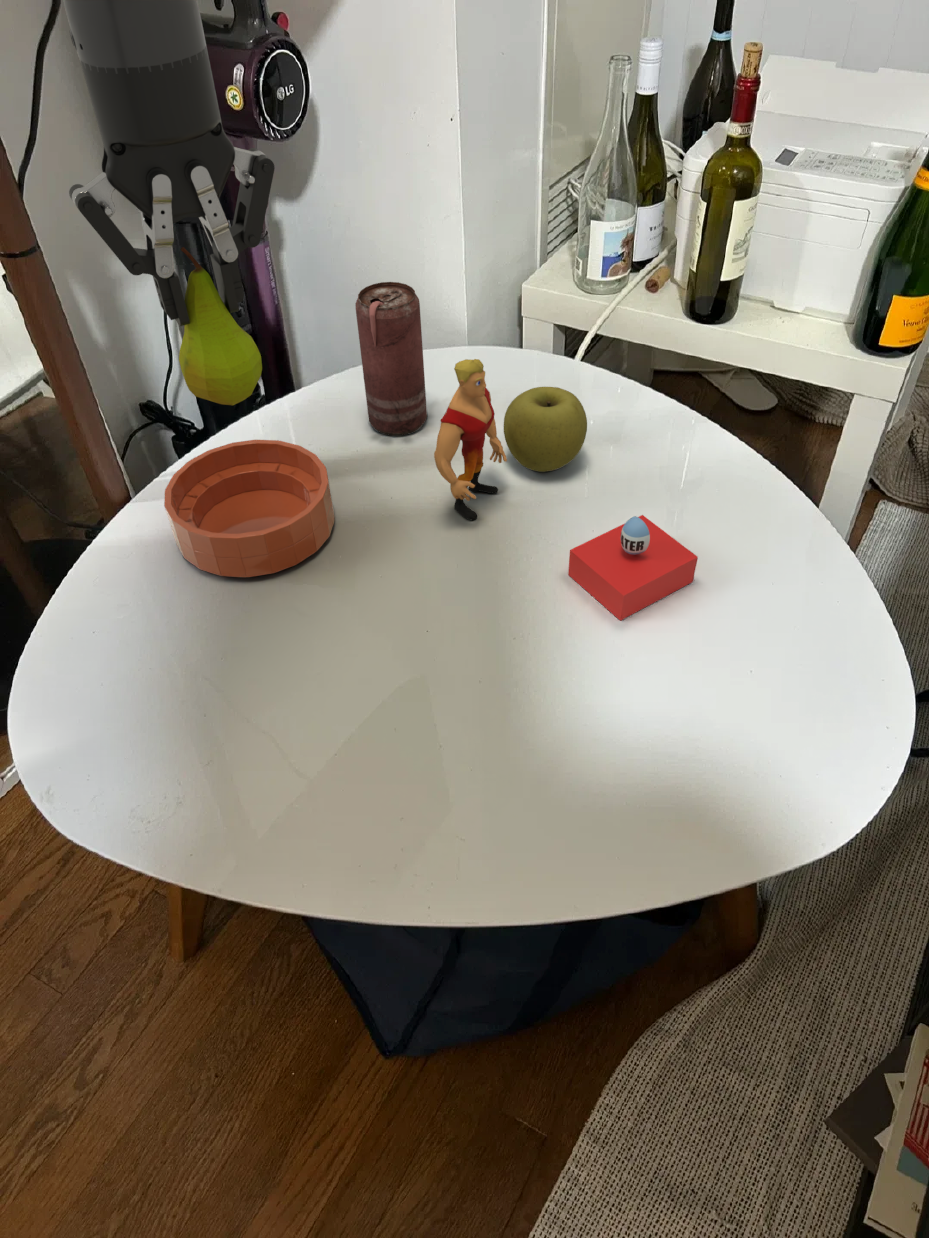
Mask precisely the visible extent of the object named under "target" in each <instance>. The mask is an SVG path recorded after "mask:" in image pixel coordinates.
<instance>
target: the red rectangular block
mask: <svg viewBox="0 0 929 1238" xmlns="http://www.w3.org/2000/svg"><path fill="white" fill-rule="evenodd" d="M698 558H699V556H698V555H696V554H694V552H692V551H691V550H690V549H688V548H687V547H686V546H684V544H682V543H681V542H679V541H678V540H677V539H675V538H674V537H672V536H671V535H670V534H669V533H667V532H666V531H664V530H663V529H662V528H661V527H660V526H658V525H657V524H655V523H654V522H653V521H652V520H650V519H649V518H647V516H645V515H644V514H641V515H639V516H637V515H636V516H635V515H634V516H632V517H630V518H629V519H628V520H627V521H626V522H624V523H622V524H621V525H618V526H616V527H614V528H613V529H610V530H608V531H606V532H604V533H602V534H599V535H598V536H596V537H594V538H591V539H590V540H588V541H585V542H583V543H581V544H579V545H577V546H575V547H573V548H571V549H570V550H569V558H568V571H567V575H568V577H570V578H571V579H572V580H574V582H575V583H577V584H578V585H579V586H580V587H581V588H583V589H584V590H585V592H587V593H588V594H589V595H590V596H591V597H593V598H594V599H595V600H596V601H597V602H598V603H600V605H602V606H603V607H604V608H605V609H606V610H607V611H609V612H610V613H611V614H612V615H613V616H614V617H615V618H616V619H618V620H619V621H622V620H625V619H626V618H628V617H630V616H632V615H634V614H635V613H637V612H639V611H641V610H643V609H646V608H647V607H649V606H651V605H652V604H654V603H656V602H658V601H660V600H662V599H664V598H665V597H667V596H670V595H671V594H673V593H675V592H677V591H678V590H680V589H682V588H685V587H686V586H688V585H689V584H692V583H693V582H694V578H695V573H696V570H697V569H696V568H697V563H698Z"/></svg>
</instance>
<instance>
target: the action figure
mask: <svg viewBox="0 0 929 1238" xmlns="http://www.w3.org/2000/svg"><path fill="white" fill-rule="evenodd" d="M453 369H454V370H453V371H454V372H455V375H456V379H457V382H458V385H459V386H458V387H457V389H456V390H455V392H454V394H453V396H452V398H451V400H450V402H449V403H448V406H447V408H446V412H445V413H444V414H443V416H442V417H441V419H440V420H439V421H440V424H439V429H438V430H439V431H438V434H437V439H436V447H435V450H434V453H433V458H434V463H435V467H436V469H437V470H438V472H439V475H441V476H442V478H443V479H444V480H445V481H446V482H448V483H449V484H450V485H449V486H450V493H451V495H452V497H453V498H454V499H455V502H454V505H453V508H454V510H455V511H456V512H458V514H459V515H461V516H462V517H463V518H465V519H467V520H468V521H473V520H476V519H477V518H478V513H477V512H476V511H475V510H473V509H472V508H470V507H469V506H468V505H467V504H466V503H465V502H464V500H466V501H467V502H469V501H471V499H473V500H476V499H477V496H476V495H475V494H474V493H475V492H483V493H487V494H497V493H498V492H499V488H498V487H497V486H495V485H490V484H489V485H488V484H484V483H481V482H479V478H480V475H481V472H482V468H483V467H484V461H483V460H484V447H485V446H484V445H485V441H486V436H487V437H488V438H489V441H488V442H489V444H490V446H491V449H492V452H491V455H490V457H489V460H490V461H492V460H493V463H496V462H497V459H498V464H501V463H502V462H504V463H506V462H508V459H507V455H506V453H505V451H504V447H503V445H502V442H501V440H500V439H499V437H498V436H497V435H498V431H497V425H496V420H495V410H494V407H493V405H492V396H491V393H490V391H489V390H488V388H487V383H486V379H485V378H486V371H485V370H484V363H483V362H482V361H481V360H480V359H477V358H474V359H467V358H465V359H463V360H460V361H458V362H457V363H455V365H454V367H453ZM461 442H462V443H461ZM460 443H461V444H462V445H461V456H462V458H463V466H464V467H463V468H464V469H463V470H464V472H463V473H461V474H459V475H458V476H457V475H456V472H455V471H454V469H453V467H452V461H453V459H454V457H455V455H456V453H457V451H458V449H459V446H460Z"/></svg>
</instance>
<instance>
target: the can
mask: <svg viewBox="0 0 929 1238" xmlns="http://www.w3.org/2000/svg"><path fill="white" fill-rule="evenodd" d="M420 303H421V302H420V298H419V297H418V295H417V293H416V290H415V289H414V288H413V286H410V285H408V284H406V283H403V282H399V281H398V282H397V281H381V282H376V283H373V284H370V285H368V286H365V287H364V288H363V289H361V290H360V291H359V292H358V294H357V299H356V301H355V305H354V306H355V314H356V324H357V330H358V332H357V333H358V342H359V349H360V357H361V367H362V375H363V384H364V391H365V399H366V408H367V418H368V422H369V423H370V426H372V428H373V429H374V430H375V431H376V432H378V433H380V434H383V435H386V436H391V437H399V436H400V437H402V436H407V435H410V434H414V433H415V432H417V431H419V430H420V429H421V428H422V427H423V425H424V424H425V422H426V420H427V418H428V410H427V408H428V407H427V393H426V379H425V364H424V363H425V361H424V348H423V335H422V334H423V333H422V317H421V304H420Z"/></svg>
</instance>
